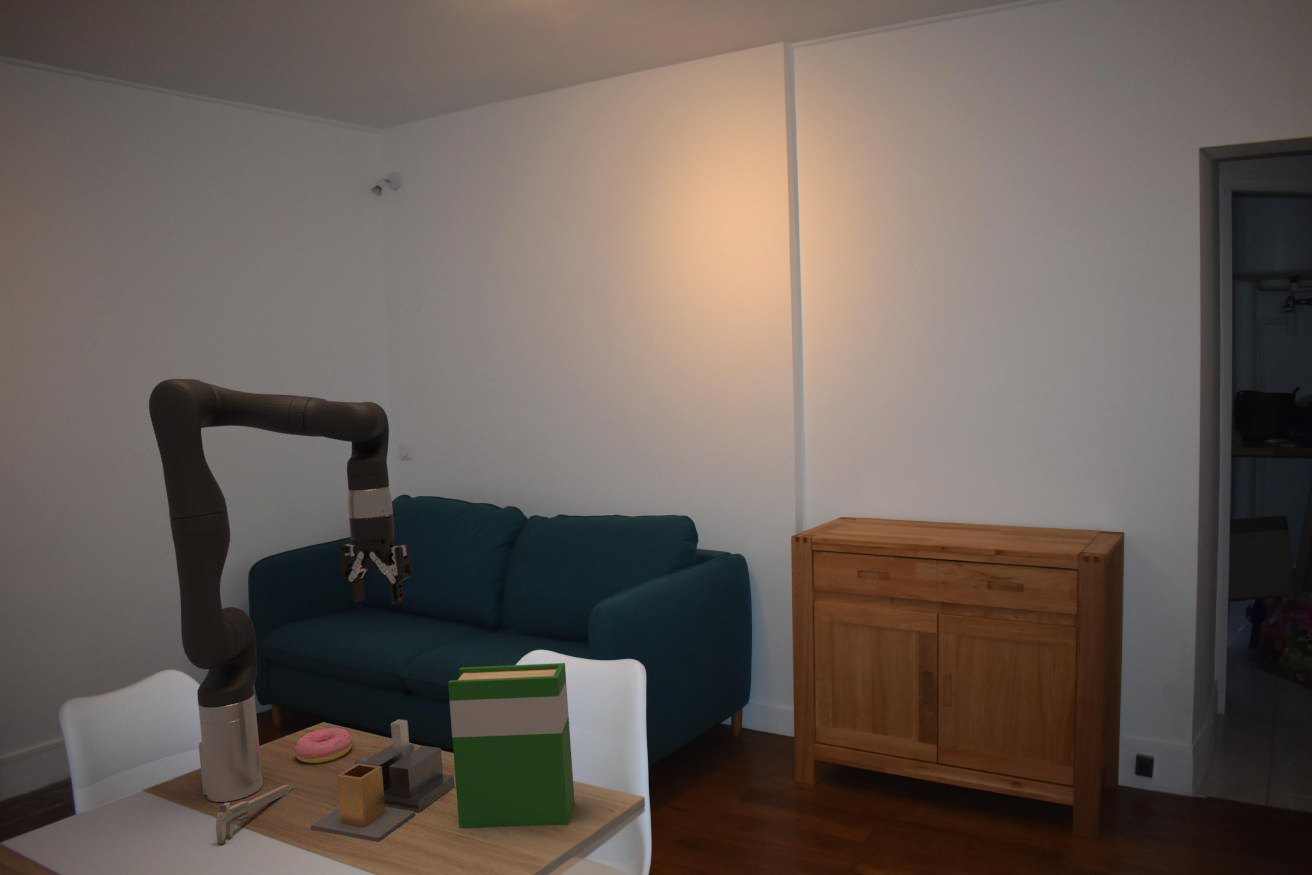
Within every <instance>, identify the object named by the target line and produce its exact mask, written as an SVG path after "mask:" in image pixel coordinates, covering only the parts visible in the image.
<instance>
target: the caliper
mask: <svg viewBox="0 0 1312 875" xmlns="http://www.w3.org/2000/svg"><path fill="white" fill-rule="evenodd" d="M294 788H295V786H293V785H291V784H284V785H282V786H279V787H277V788H274V789H272V790H270V791H268V792H266V793H263V794H261V795H259V796H257V797H255V798H253V799H251V800H247V801H246V800H242V801H241V802H238V803H236V804H233V805H231V802H224V803H223V804H219V812H217V813H216V820H215V821H216V823H215V832H216V842H217V844H218V845H225V844H226V840H227V841H229V840H230V841H231V840H232V839H233V836H234V831H235V826H236V822H237V821H244V819H248V818H249V813H251V812H252V811H254V810H257V809H259V808H261V807H263V806H265V805H267V804H270V803H271V802H274V801H276V800H277V799H279V798H282V797H285V796H286V795H287V794H288V793H289V792H291V790H293V789H294Z"/></svg>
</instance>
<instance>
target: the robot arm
mask: <svg viewBox="0 0 1312 875" xmlns="http://www.w3.org/2000/svg"><path fill="white" fill-rule="evenodd" d="M148 400H149V401H148V411H149V417H150V421H151V425H152V428H153V432H154V436H155V440H156V442H157V444H156V445H157V447H158V452H159V455H160V460H161V464H162V472H163V479H164V484H165V492H166V497H167V505H168V513H169V523H170V529H171V530H170V531H171V536H172V541H173V547H174V552H175V554H174V555H175V559H176V569H177V576H178V577H177V578H178V584H179V585H178V586H179V596H180V628H181V629H180V630H181V631H180V632H181V642H182V646H183V652H184V654H185V656H186V658H187V659H188V660H189V662H190V663H191V664H192V665H193V666H195V667H196V668H198V669H201V670H208V671H207V674H206V676H205V678H204V679H203V681H202V682H201V684H200V685H199V687H198V689H197V693H196V694H197V704H198V706H197V707H198V716H199V726H200V733H201V734H200V736H201V741H200V743H199V744H198V751H199V764H200V773H201V785H202V786H201V787H202V795H204V796H206V798H207V799H208V800H209V801H211V802H216V803H221V802H224V803H227V802H231V801H235V800H236V801H237V800H240V799H244V798H246V797H249V796H251V795H253V794H255V793H257V792H258V791H260V790H261V788H262V787H263V775H262V774H263V773H262V765H261V764H262V763H261V753H260V750H261V749H260V741H259V732H258V731H259V730H258V729H259V728H258V720H257V710H256V709H257V708H256V700H255V699H256V697H255V683H256V679H257V676H258V661H257V660H258V657H257V656H258V655H257V653H258V652H257V638H256V632H255V631H256V630H255V627H254V623H253V621H252V619H251V616H249V615H248V613H247V612H245V611H244V610H243V609H241V608H238V607H233V606H229V607H228V606H227V607H224V608H223V607H222V606H223V605H222V598H221V581H222V576H223V571H224V568H225V564H226V560H227V556H228V553H229V548H230V543H231V529H230V528H231V527H230V520H229V513H228V505H227V502H226V498H225V495H224V493H223V491H222V489H221V486H220V485H219V483H218V481H217V479H216V478H215V476H214V474H213V472H212V470H211V469H210V466H209V464H208V462H207V458H206V456H205V451H204V446H203V436H202V429H205V428H213V427H247V428H253V429H260V430H263V431H268V432H272V433H277V434H278V433H279V434H283V435H285V434H286V435H293V436H302V437H303V436H304V437H313V438H315V437H316V438H317V437H319V438H320V437H323V438H327V439H332V440H337V441H342V442H349V443H351V455H350V457H349V459H348V460H347V463H346V475H347V476H346V477H347V489H348V490H347V491H348V492H347V495H348V496H347V508H348V519H349V520H348V521H349V532H350V534H349V535H350V540H351V541H352V542H354V543H352V542H350V543H346V544H343V545H340V546H339V565H340V566H339V568H340V570H339V571H340V577H341V578H342V579H348V581H349V582H350V587H351V598H352V599H353V601H354V602H355V603H359V602H362V601H364V600H365V599H366V595H365V594H366V593H365V592H366V591H365V581H364V578H363V577H364V576H365V574H366V572H367V571H368V570H374V571H380V572H381V574H383V575H385V576H386V577H387V579H388V580H389V582H390V583H389V591H390V603H391V604H392V605H397V604H400V603H402V601H403V600H404V598H405V597H404V596H405V594H404V586H403V585H404V583H403V582H404V581H405V580H407V579H409V578H412V576H413V572H412V563H411V554H410V547H409V545H408V544H401V545H395V544H394V542H393V541H394V540H393V539H394V536H395V524H394V511H393V501H392V495H391V489H390V482H389V469H388V462H387V461H388V454H389V453H388V451H389V441H390V440H389V438H390V426H389V425H390V424H389V419H388V416H387V413H386V411H385V409H384V408H383V406H381V405H379V404H378V403H376V402H373V401H362V402H361V401H360V402H354V401H353V402H351V401H338V400H337V401H334V400H327V399H324V398H320V397H313V396H304V395H303V396H302V395H294V394H277V393H275V394H273V393H257V392H255V393H253V392H248V391H247V392H245V391H240V390H234V389H231V388H227V387H224V386H223V387H222V386H219V385H215V384H212V383H208V382H204V381H202V380H199V379H195V378H169V379H164V380H161V381H160V382H159V383H157V384H156V385H155V386H154V388H153V389H152V391H151V393H150V396H149V399H148ZM355 557H356V559H355Z"/></svg>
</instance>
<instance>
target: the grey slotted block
mask: <svg viewBox="0 0 1312 875" xmlns="http://www.w3.org/2000/svg"><path fill="white" fill-rule="evenodd" d="M390 732H391V743H392V744H391V745H389V746H387V747H385V748H384V749H382V750H380V751H379V752H377V753H375V754H374V755H372V756H370V757H369V758H363V757H362V758H361V757H358V758H357V759H356V760H355V763H354V764H355V765H356V764H358V763H359V764H366V765H373V766H380V767H382V776H383V788H384V800H385V807H390V808H396V809H402V810H408V811H414V812H415V813H420V812H422V811H423V810H424V809H425V808H427V807H429V806H430V805H431V804H433V803H434V802H436V800H438V799H440V798H441V797H442V796H444V795H445V794H446V793H448V792H449V791H451V790H452V789H453V788H455V787H456V782H455V775H453V774H446V773H444V772H443V759H442V749H441V747H437V746H436V747H435V746H429V745H428V746H427V745H421V746H420V747H418V748H417V749H415V745H414V744H411V743H410V738H409V736H410V735H409V724H408V720H407V719H399V718H398V719H396V720H395V721H393V722H391V723H390ZM355 765H354V766H355Z"/></svg>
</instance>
